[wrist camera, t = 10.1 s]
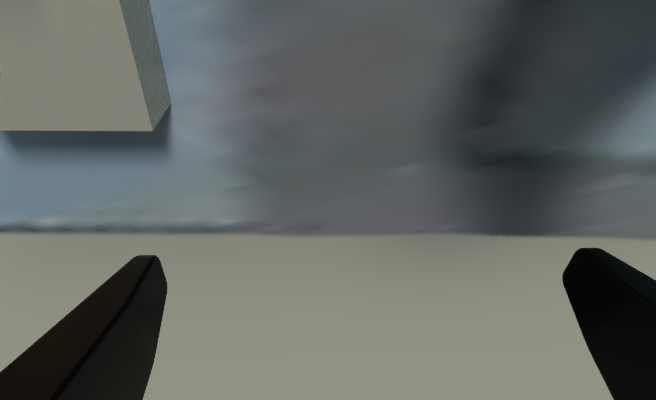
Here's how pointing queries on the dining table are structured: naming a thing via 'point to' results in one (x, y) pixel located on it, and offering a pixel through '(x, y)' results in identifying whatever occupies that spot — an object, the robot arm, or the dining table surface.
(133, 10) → the rail
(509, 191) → the dining table surface
